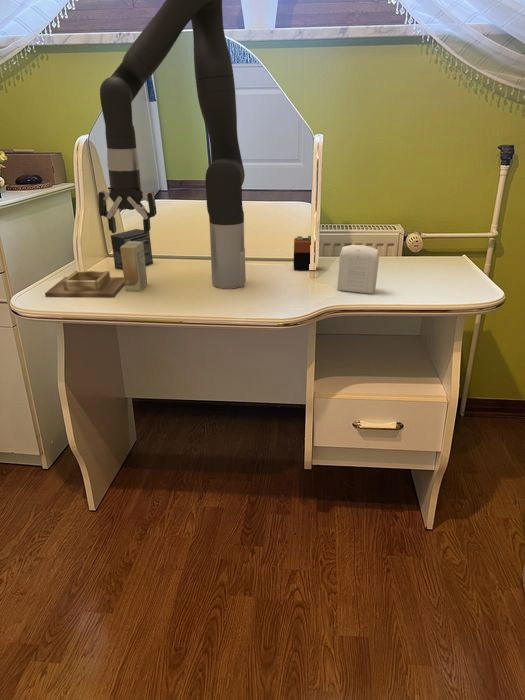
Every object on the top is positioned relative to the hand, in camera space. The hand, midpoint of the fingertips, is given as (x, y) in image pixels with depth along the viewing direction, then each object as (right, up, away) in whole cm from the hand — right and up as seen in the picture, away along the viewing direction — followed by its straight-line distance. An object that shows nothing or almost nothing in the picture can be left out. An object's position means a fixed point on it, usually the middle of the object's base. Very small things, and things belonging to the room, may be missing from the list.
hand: (130, 232), depth 136 cm
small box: (-5, -5, +26) cm, 27 cm away
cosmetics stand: (-13, -14, +6) cm, 20 cm away
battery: (+48, -6, +22) cm, 53 cm away
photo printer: (+60, -15, +4) cm, 62 cm away
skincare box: (0, -14, +6) cm, 15 cm away
